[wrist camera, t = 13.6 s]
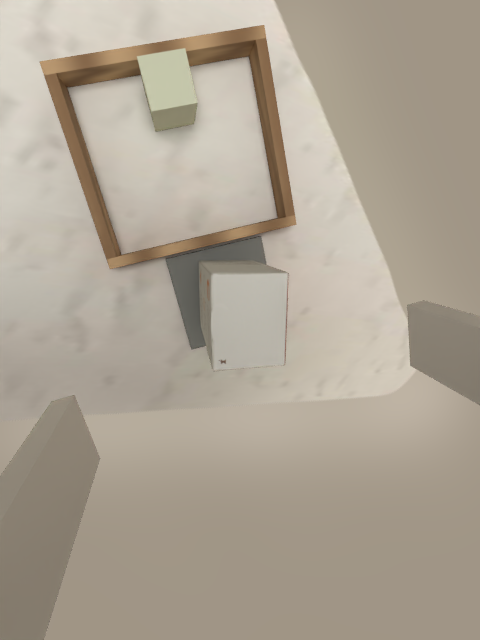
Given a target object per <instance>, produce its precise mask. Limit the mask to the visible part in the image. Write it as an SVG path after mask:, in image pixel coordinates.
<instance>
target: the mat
mask: <svg viewBox="0 0 480 640" xmlns="http://www.w3.org/2000/svg"><path fill="white" fill-rule="evenodd" d="M201 260H253V261H256V262H259V263H262V264H265V265H266V259H265V254H264V249H263V244H262V239H261V236H258V237H254V238H250V239H246V240H242V241H238V242H233V243H229V244H225V245H221V246H217V247H213V248H208V249H204V250H200V251H196V252H192V253H188V254H183V255H179V256H175V257H171V258H167V259H166V262H167V265H168V269H169V272H170V276H171V279H172V283H173V286H174V290H175V293H176V297H177V300H178V304H179V307H180V311H181V314H182V318H183V321H184V325H185V328H186V332H187V335H188V339H189V342H190V346H191V349H196V348H199V347H203V346H206V343H205V339H204V336H203V333H202V329H201V323H200V297H199V261H201Z"/></svg>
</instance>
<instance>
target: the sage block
mask: <svg viewBox="0 0 480 640" xmlns="http://www.w3.org/2000/svg"><path fill="white" fill-rule="evenodd" d="M137 59H138V64H139V68H140V72H141V77H142V81H143V86H144V90H145V93H146V97H147V101H148V105H149V108H150V112H151V116H152V120H153V123H154V127H155V131H161V130H166V129H171V128H176V127H182V126H187V125H192V124H194V121H195V115H196V109H197V98H196V94H195V89H194V85H193V80H192V76H191V72H190V67H189V63H188V58H187V54H186V49H185V48H183V49H177V50H171V51H165V52H159V53H153V54H147V55H142V56H137Z"/></svg>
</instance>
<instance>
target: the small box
mask: <svg viewBox="0 0 480 640" xmlns="http://www.w3.org/2000/svg"><path fill="white" fill-rule="evenodd" d="M288 275H289V273H287V272H285V271H282V270H279V269H276V268H274V267H271V266H268V265H265V264H262V263H259V262H256V261H253V260H201V261H199V297H200V323H201V329H202V333H203V336H204V339H205V343H206V347H207V351H208V355H209V359H210V362H211V366H212V369H213V371H220V370H231V369H244V368H257V367H269V366H282V365H285V356H286V329H287V302H288Z"/></svg>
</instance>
